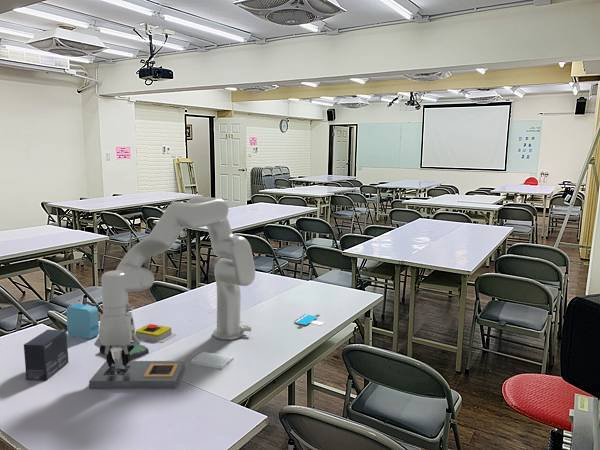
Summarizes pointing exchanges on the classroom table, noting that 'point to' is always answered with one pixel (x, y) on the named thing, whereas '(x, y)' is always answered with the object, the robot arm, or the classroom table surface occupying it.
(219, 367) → the hard drive
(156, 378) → the grey sorting tray
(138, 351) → the disk drive
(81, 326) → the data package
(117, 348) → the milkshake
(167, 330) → the emergency button
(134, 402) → the classroom table surface
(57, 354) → the small box
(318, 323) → the phone stand
